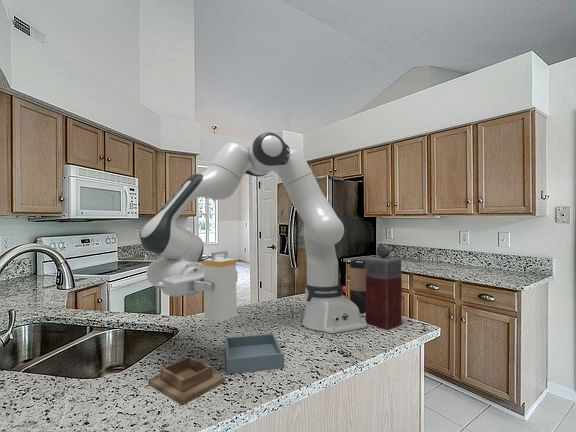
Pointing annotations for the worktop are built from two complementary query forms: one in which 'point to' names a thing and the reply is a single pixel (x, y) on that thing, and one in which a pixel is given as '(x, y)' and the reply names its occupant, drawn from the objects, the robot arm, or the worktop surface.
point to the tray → (253, 353)
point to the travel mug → (358, 284)
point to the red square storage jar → (383, 290)
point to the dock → (186, 380)
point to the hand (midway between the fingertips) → (222, 284)
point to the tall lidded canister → (220, 287)
